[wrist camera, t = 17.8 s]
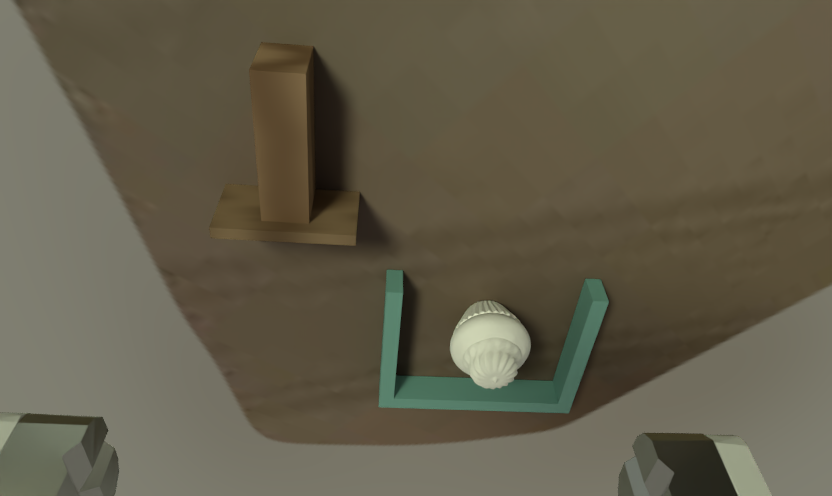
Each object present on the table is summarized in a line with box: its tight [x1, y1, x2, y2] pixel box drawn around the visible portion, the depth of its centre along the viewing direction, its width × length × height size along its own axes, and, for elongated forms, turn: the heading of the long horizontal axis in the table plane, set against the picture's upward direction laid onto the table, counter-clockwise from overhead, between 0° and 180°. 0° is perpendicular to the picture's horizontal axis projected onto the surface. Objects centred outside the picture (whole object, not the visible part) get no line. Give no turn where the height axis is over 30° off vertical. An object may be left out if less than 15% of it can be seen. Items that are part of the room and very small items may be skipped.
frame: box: [379, 270, 609, 413], centre depth 52 cm, size 16×13×2 cm
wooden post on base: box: [209, 42, 360, 246], centre depth 39 cm, size 9×11×5 cm
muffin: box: [450, 300, 531, 389], centre depth 49 cm, size 6×6×7 cm
